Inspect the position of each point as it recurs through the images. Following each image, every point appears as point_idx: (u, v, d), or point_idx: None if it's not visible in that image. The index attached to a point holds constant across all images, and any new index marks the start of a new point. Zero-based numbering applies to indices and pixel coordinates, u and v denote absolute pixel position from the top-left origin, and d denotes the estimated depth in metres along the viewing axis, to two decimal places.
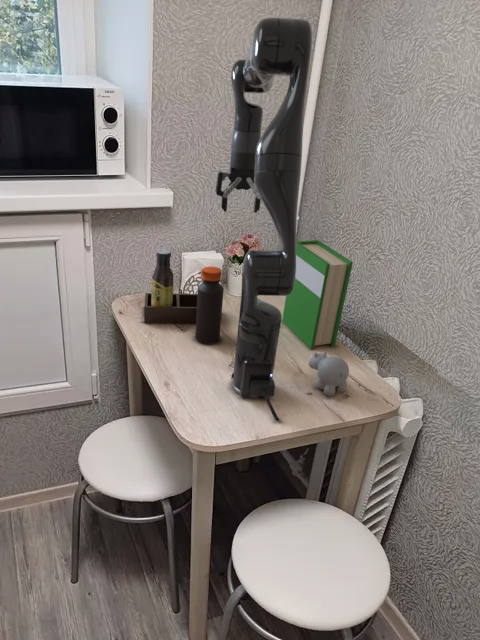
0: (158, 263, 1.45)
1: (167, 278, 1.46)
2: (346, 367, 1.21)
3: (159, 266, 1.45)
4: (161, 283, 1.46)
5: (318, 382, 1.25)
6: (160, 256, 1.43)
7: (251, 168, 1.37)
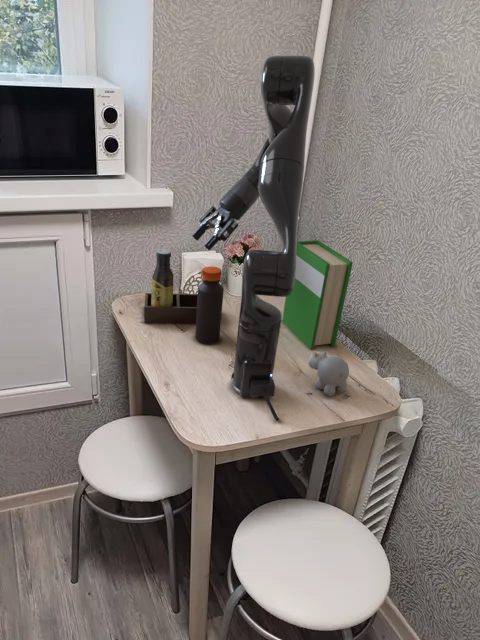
0: (158, 263, 1.45)
1: (167, 278, 1.46)
2: (346, 367, 1.21)
3: (159, 266, 1.45)
4: (161, 283, 1.46)
5: (318, 382, 1.25)
6: (160, 256, 1.43)
7: (224, 203, 1.43)
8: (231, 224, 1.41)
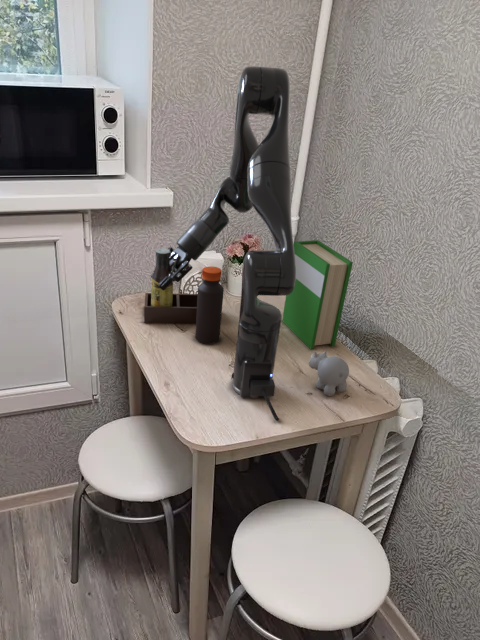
0: (157, 263, 1.45)
1: None
2: (346, 367, 1.21)
3: (159, 266, 1.45)
4: None
5: (318, 382, 1.25)
6: (159, 255, 1.43)
7: (181, 244, 1.44)
8: (184, 267, 1.42)
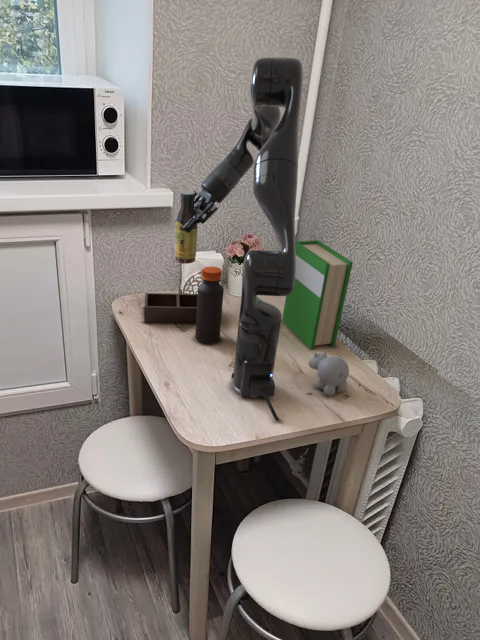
0: (182, 204, 1.45)
1: None
2: (346, 367, 1.21)
3: (184, 208, 1.45)
4: None
5: (318, 382, 1.25)
6: (185, 196, 1.43)
7: (206, 185, 1.44)
8: (210, 208, 1.42)
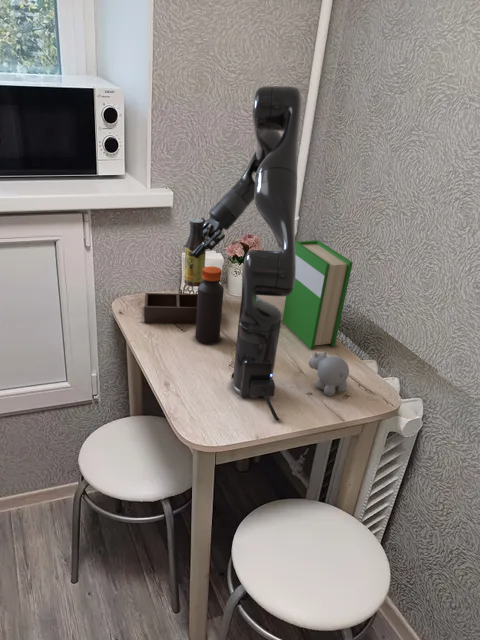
0: (192, 232, 1.53)
1: None
2: (346, 367, 1.21)
3: (193, 235, 1.53)
4: None
5: (318, 382, 1.25)
6: (194, 224, 1.51)
7: (214, 214, 1.52)
8: (218, 235, 1.50)
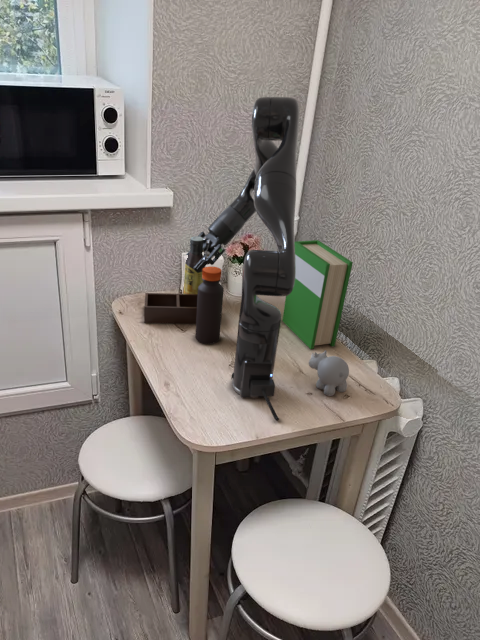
0: (192, 249, 1.56)
1: None
2: (346, 367, 1.21)
3: (193, 252, 1.56)
4: None
5: (318, 382, 1.25)
6: (194, 242, 1.54)
7: (212, 230, 1.54)
8: (218, 249, 1.52)
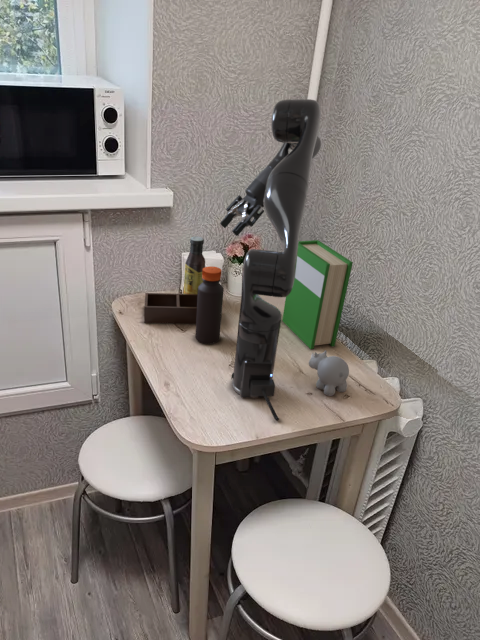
0: (192, 249, 1.56)
1: (200, 264, 1.57)
2: (346, 367, 1.21)
3: (193, 252, 1.56)
4: (194, 268, 1.57)
5: (318, 382, 1.25)
6: (194, 242, 1.54)
7: (251, 191, 1.52)
8: (257, 210, 1.50)
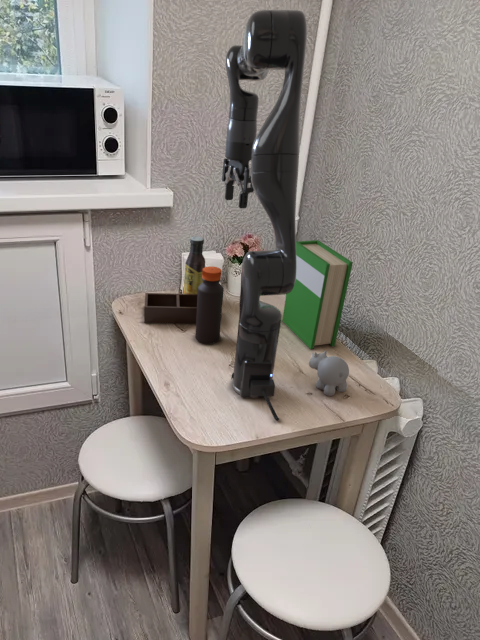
0: (192, 249, 1.56)
1: (200, 264, 1.57)
2: (346, 367, 1.21)
3: (193, 252, 1.56)
4: (194, 268, 1.57)
5: (318, 382, 1.25)
6: (194, 242, 1.54)
7: (230, 157, 1.33)
8: (248, 174, 1.32)
